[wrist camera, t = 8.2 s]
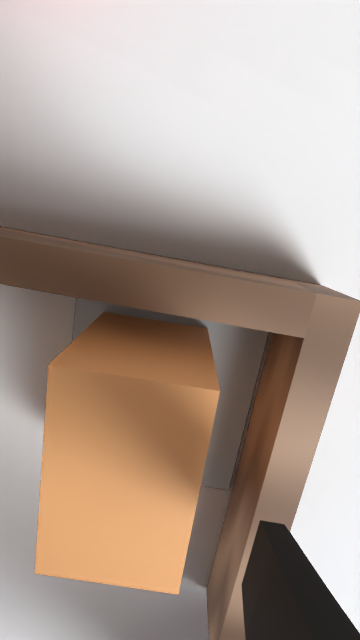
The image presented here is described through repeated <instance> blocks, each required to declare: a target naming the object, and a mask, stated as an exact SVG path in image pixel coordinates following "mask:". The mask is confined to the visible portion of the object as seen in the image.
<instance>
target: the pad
mask: <svg viewBox="0 0 360 640" xmlns="http://www.w3.org/2000/svg"><path fill="white" fill-rule="evenodd" d="M103 312H108V313H114V314H120V315H127V316H133V317H139V318H145V319H152V320H158V321H164V322H171V323H177V324H183V325H189V326H196V327H202V328H208V333H209V338H210V343H211V348H212V353H213V358H214V363H215V368H216V373H217V378H218V383H219V388H220V394H219V399H218V404H217V409H216V413H215V418H214V423H213V428H212V433H211V438H210V443H209V448H208V453H207V457H206V462H205V467H204V472H203V477H202V482H201V486H207V487H213V488H219V489H225V490H229V486H230V482H231V478H232V475H233V471H234V467H235V463H236V459H237V455H238V451H239V447H240V443H241V439H242V435H243V431H244V427H245V423H246V419H247V415H248V411H249V407H250V404H251V400H252V396H253V392H254V388H255V384H256V380H257V376H258V372H259V368H260V364H261V360H262V356H263V352H264V348H265V344H266V340H267V336H268V333H269V332H267V331H261V330H255V329H250V328H244V327H239V326H233V325H227V324H222V323H216V322H211V321H205V320H199V319H194V318H188V317H183V316H177V315H171V314H166V313H160V312H155V311H149V310H143V309H138V308H132V307H127V306H121V305H116V304H110V303H104V302H99V301H93V300H88V299H82V298H77V299H76V309H75V318H74V328H73V338H72V341H74V340H75V339H76V338H77V337H78V336H79V335H80V334H81V333H82V332H83V331H84V330H85V329H86V328H87V327H88V326H89V325H90V324H91V323H93V322H94V321H95V320H96V319H97V318H98V317H99V316H100V315H101V314H102V313H103Z"/></svg>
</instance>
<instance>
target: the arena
mask: <svg viewBox="0 0 360 640" xmlns="http://www.w3.org/2000/svg"><path fill="white" fill-rule="evenodd" d="M0 284H4V285H9V286H15V287H20V288H26V289H32V290H37V291H43V292H48V293H54V294H60V295H65V296H71V297H76V298H82V299H88V300H93V301H99V302H104V303H110V304H116V305H121V306H127V307H132V308H138V309H143V310H149V311H155V312H160V313H166V314H171V315H177V316H183V317H188V318H194V319H199V320H205V321H211V322H216V323H222V324H227V325H233V326H239V327H244V328H250V329H255V330H261V331H267V332H272V337H271V341H270V344H269V348H268V352H267V356H266V360H265V364H264V368H263V372H262V376H261V380H260V383H259V387H258V391H257V395H256V399H255V403H254V407H253V411H252V415H251V418H250V422H249V426H248V430H247V434H246V438H245V442H244V446H243V450H242V454H241V457H240V461H239V465H238V469H237V473H236V477H235V481H234V485H233V489H232V493H231V496H230V500H229V504H228V508H227V512H226V516H225V520H224V524H223V528H222V531H221V535H220V539H219V543H218V547H217V551H216V555H215V559H214V563H213V567H212V570H211V574H210V578H209V582H208V586H207V609H208V629H209V640H246V639H245V627H244V615H243V600H242V581H243V578H244V574H245V571H246V567H247V564H248V560H249V557H250V553H251V550H252V546H253V543H254V539H255V536H256V532H257V529H258V525H259V522H260V520H262V521H268V522H274V523H280V524H285V526H286V527H287V529H288V530H289V532H290V530H291V526H292V523H293V520H294V517H295V514H296V511H297V508H298V505H299V501H300V498H301V495H302V492H303V489H304V486H305V483H306V479H307V476H308V473H309V470H310V467H311V464H312V461H313V457H314V454H315V451H316V448H317V445H318V442H319V439H320V435H321V432H322V429H323V426H324V423H325V420H326V417H327V413H328V410H329V407H330V404H331V401H332V398H333V395H334V391H335V388H336V385H337V382H338V379H339V376H340V373H341V369H342V366H343V363H344V360H345V357H346V354H347V351H348V347H349V344H350V341H351V338H352V335H353V332H354V329H355V325H356V322H357V319H358V316H359V313H360V301H359V300H357V299H354V298H352V297H349V296H347V295H344V294H342V293H339V292H337V291H334V290H332V289H330V288H327V287H325V286H322V285H317V284H312V283H306V282H301V281H295V280H290V279H284V278H279V277H273V276H268V275H262V274H257V273H251V272H246V271H240V270H235V269H229V268H224V267H218V266H213V265H207V264H202V263H196V262H191V261H185V260H180V259H174V258H169V257H164V256H158V255H153V254H147V253H142V252H136V251H131V250H125V249H120V248H114V247H109V246H103V245H98V244H92V243H87V242H81V241H76V240H70V239H65V238H59V237H54V236H48V235H43V234H37V233H32V232H26V231H21V230H15V229H10V228H4V227H0Z"/></svg>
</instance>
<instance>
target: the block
mask: <svg viewBox="0 0 360 640" xmlns="http://www.w3.org/2000/svg"><path fill="white" fill-rule="evenodd" d="M219 394H220V388H219V383H218V378H217V373H216V368H215V363H214V358H213V353H212V348H211V343H210V338H209V333H208V328H202V327H196V326H189V325H183V324H177V323H171V322H164V321H158V320H152V319H145V318H139V317H133V316H127V315H120V314H114V313H108V312H103V313H102V314H101V315H100V316H99V317H98V318H97V319H96V320H95V321H94V322H93V323H91V324H90V325H89V326H88V327H87V328H86V329H85V330H84V331H83V332H82V333H81V334H80V335H79V336H78V337H77V338H76V339H75V340H74V341H72V342H71V343H70V344H69V345H68V346H67V347H66V348H65V349H64V350H63V351H62V352H61V353H60V354H59V355H58V356H57V357H56V358H55V359H53V360H52V361H51V362H50V363H49V364H48V377H47V393H46V408H45V423H44V438H43V453H42V469H41V484H40V499H39V514H38V529H37V545H36V560H35V574H40V575H47V576H54V577H61V578H68V579H75V580H82V581H88V582H95V583H102V584H109V585H116V586H123V587H129V588H136V589H143V590H150V591H157V592H164V593H170V594H177V595H178V594H179V590H180V585H181V580H182V575H183V570H184V565H185V560H186V555H187V550H188V546H189V541H190V536H191V531H192V526H193V521H194V516H195V511H196V506H197V501H198V497H199V492H200V487H201V482H202V477H203V472H204V467H205V462H206V457H207V453H208V448H209V443H210V438H211V433H212V428H213V423H214V418H215V413H216V409H217V404H218V399H219Z"/></svg>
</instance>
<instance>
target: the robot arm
mask: <svg viewBox="0 0 360 640" xmlns="http://www.w3.org/2000/svg"><path fill="white" fill-rule="evenodd" d="M242 600H243V615H244V627H245V639H246V640H360V633H359V632H358V631H357V629H356V628H355V626H354V625H353V623H352V622H351V621H350V619H349V618H348V616H347V615H346V614H345V612H344V611H343V609H342V608H341V607H340V605H339V604H338V602H337V601H336V600H335V598H334V597H333V595H332V594H331V592H330V591H329V589H328V588H327V587H326V585H325V584H324V582H323V581H322V579H321V578H320V576H319V575H318V573H317V572H316V570H315V569H314V567H313V566H312V564H311V563H310V561H309V560H308V558H307V557H306V556H305V554H304V553H303V551H302V550H301V548H300V547H299V545H298V544H297V542H296V541H295V539H294V538H293V536H292V535H291V533H290V532H289V530H288V529H287V527H286V526H285V524H280V523H274V522H268V521H262V520H260V522H259V525H258V529H257V532H256V536H255V539H254V543H253V546H252V550H251V553H250V557H249V560H248V564H247V567H246V571H245V574H244V578H243V581H242Z"/></svg>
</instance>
